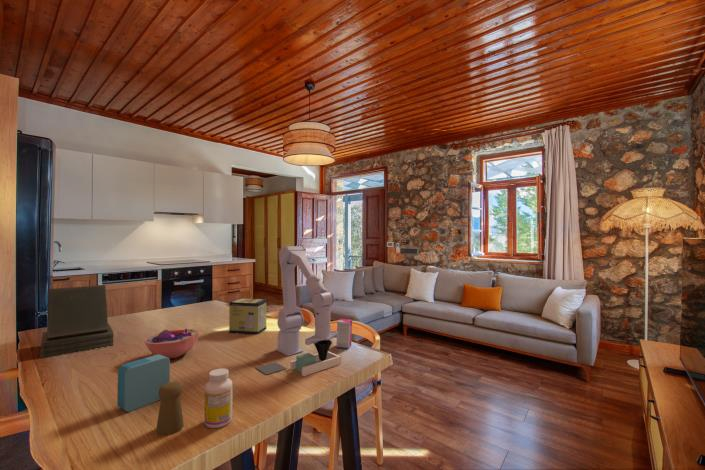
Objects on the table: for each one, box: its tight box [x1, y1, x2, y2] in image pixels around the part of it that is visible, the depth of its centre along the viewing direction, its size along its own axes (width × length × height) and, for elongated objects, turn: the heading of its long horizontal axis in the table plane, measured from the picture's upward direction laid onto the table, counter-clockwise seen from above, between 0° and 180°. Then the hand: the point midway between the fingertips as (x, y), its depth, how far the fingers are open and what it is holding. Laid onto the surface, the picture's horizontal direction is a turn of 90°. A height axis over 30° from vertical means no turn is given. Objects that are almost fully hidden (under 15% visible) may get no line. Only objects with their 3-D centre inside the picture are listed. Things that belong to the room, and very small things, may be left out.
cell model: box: [143, 328, 199, 360], centre depth 131 cm, size 17×20×11 cm
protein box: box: [228, 298, 267, 335], centre depth 167 cm, size 10×16×16 cm
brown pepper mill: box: [155, 381, 184, 437], centre depth 81 cm, size 6×6×11 cm
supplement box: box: [335, 318, 353, 350], centre depth 144 cm, size 6×6×12 cm
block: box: [295, 352, 317, 373], centre depth 118 cm, size 5×5×5 cm
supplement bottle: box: [204, 367, 233, 429], centre depth 84 cm, size 7×7×13 cm
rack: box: [289, 350, 342, 377], centre depth 121 cm, size 8×17×3 cm, turn 133°
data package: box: [116, 355, 171, 413], centre depth 94 cm, size 12×4×12 cm, turn 148°
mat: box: [255, 361, 287, 376], centre depth 119 cm, size 8×8×1 cm
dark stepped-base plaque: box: [40, 284, 114, 359], centre depth 142 cm, size 23×20×25 cm
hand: (322, 360), depth 123 cm, fingers closed
